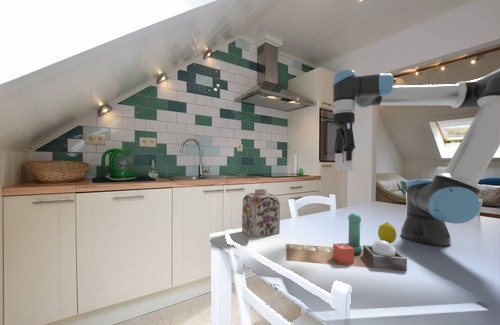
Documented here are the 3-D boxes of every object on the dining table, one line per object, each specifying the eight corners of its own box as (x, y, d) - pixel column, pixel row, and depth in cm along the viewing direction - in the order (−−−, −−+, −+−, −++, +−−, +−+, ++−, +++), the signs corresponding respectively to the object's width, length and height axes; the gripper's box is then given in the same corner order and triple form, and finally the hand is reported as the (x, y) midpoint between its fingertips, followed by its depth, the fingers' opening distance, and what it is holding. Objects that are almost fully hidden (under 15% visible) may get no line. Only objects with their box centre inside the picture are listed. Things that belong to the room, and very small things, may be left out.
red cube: (345, 256, 64) (346, 243, 64) (353, 263, 60) (354, 248, 60) (332, 257, 64) (333, 243, 64) (340, 263, 60) (340, 248, 60)
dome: (389, 254, 63) (389, 238, 63) (399, 262, 58) (399, 245, 58) (368, 252, 64) (369, 236, 64) (376, 260, 59) (377, 243, 59)
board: (384, 254, 69) (384, 241, 69) (407, 275, 56) (408, 259, 56) (285, 247, 74) (286, 234, 74) (286, 264, 61) (286, 249, 61)
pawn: (358, 249, 70) (359, 212, 70) (363, 255, 65) (364, 215, 65) (344, 248, 70) (345, 211, 70) (348, 253, 66) (349, 214, 66)
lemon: (399, 248, 75) (399, 225, 75) (381, 246, 76) (381, 223, 76) (391, 242, 80) (392, 221, 80) (375, 241, 81) (375, 219, 81)
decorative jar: (252, 240, 79) (253, 191, 79) (241, 231, 90) (241, 188, 90) (280, 236, 84) (281, 190, 84) (266, 228, 95) (267, 187, 95)
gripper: (327, 120, 94) (326, 169, 94) (341, 104, 70) (340, 170, 70) (345, 120, 93) (344, 169, 93) (366, 104, 69) (365, 171, 68)
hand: (343, 170), depth 81 cm, fingers open, 13 cm apart
